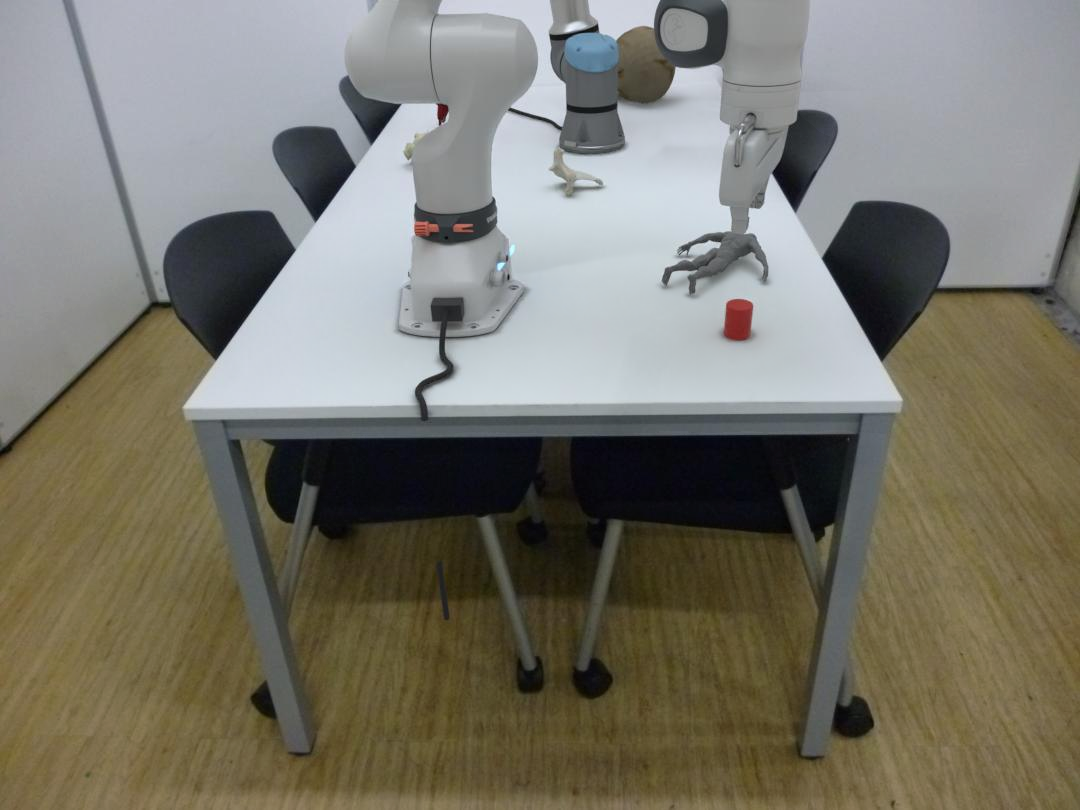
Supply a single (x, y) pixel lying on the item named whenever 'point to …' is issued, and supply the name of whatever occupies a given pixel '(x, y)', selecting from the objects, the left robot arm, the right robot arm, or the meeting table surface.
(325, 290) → the meeting table surface
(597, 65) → the right robot arm
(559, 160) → the bone
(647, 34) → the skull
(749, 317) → the tin
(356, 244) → the meeting table surface
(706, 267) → the figurine
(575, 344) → the meeting table surface
